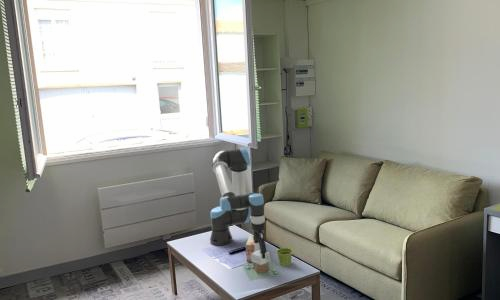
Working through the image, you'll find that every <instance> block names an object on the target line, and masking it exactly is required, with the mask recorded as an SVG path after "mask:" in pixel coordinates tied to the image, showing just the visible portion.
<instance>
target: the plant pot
mask: <svg viewBox="0 0 500 300" xmlns="http://www.w3.org/2000/svg"><path fill="white" fill-rule="evenodd" d="M293 251H294V250H293V249H291V248H288V247H281V248H279V249H276V251H275V252H276V254H277V256H278V261H279V265H281V266H282V267H283V266H284V267H288V266H290V265H292V255H293Z"/></svg>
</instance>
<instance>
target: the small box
mask: <svg viewBox="0 0 500 300" xmlns="http://www.w3.org/2000/svg"><path fill="white" fill-rule="evenodd" d="M260 252H261V250H260V249H259V250H257V251H255V252H253V253H251V261H252V262H251V263H253V262H254V263H256V264H259V265H263V264H261V255H260ZM270 260H271V252H270V251H267V252H266V263H267V262H269V261H270Z"/></svg>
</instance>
